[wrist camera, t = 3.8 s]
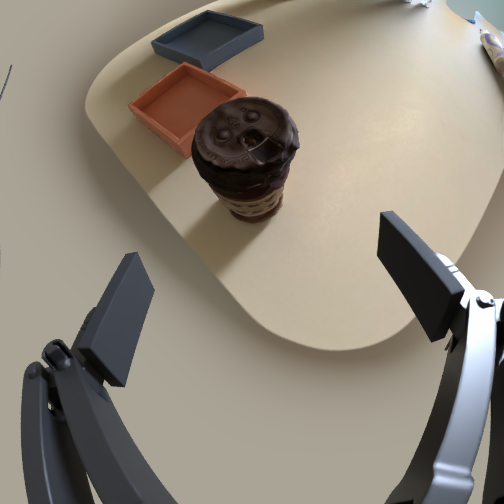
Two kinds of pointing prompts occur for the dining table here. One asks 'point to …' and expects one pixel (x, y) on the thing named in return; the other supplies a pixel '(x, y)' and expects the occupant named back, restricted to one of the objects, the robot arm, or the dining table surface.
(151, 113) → the terracotta tray
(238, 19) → the slate tray
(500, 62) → the decorative bottle
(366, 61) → the dining table surface
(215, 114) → the labeled brown jar
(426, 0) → the stool
